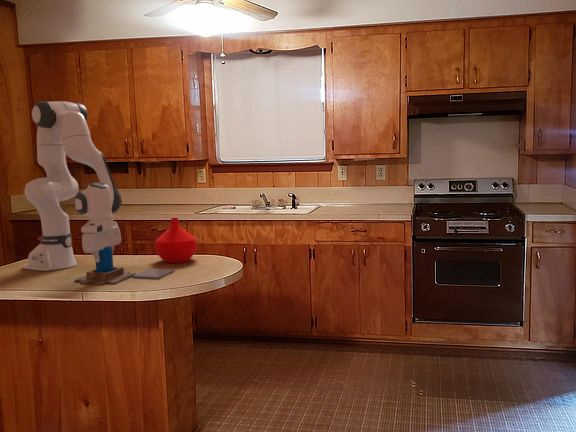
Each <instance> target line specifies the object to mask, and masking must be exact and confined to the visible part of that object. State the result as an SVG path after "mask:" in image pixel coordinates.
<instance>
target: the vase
mask: <svg viewBox="0 0 576 432" xmlns="http://www.w3.org/2000/svg"><path fill="white" fill-rule="evenodd" d="M170 221H171V222H170V224H171V225H170V227H169V228H168V229H167V230H165V232H163V233H162V234H161V235H160V236H159V237H157V239H155V242H154V249H155V251H156V253H157V256H158V257H159V258H160V259H161V261H162V260H163V261H164V262H166V263H168V264H180V263H181V264H182V263H185V261H186V262H188V261H189V260H190V259H191V258H192V257H193V256H194V255H195V252H196V251H197V247H198V241H197V238H196V237H195V235H193V234H191V233H189V232H188V231H186V230H185V229H184V228H182V226H180V224H179V217H171V218H170Z"/></svg>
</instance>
